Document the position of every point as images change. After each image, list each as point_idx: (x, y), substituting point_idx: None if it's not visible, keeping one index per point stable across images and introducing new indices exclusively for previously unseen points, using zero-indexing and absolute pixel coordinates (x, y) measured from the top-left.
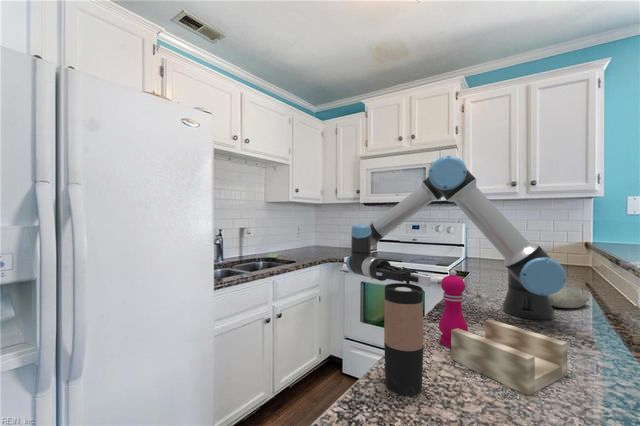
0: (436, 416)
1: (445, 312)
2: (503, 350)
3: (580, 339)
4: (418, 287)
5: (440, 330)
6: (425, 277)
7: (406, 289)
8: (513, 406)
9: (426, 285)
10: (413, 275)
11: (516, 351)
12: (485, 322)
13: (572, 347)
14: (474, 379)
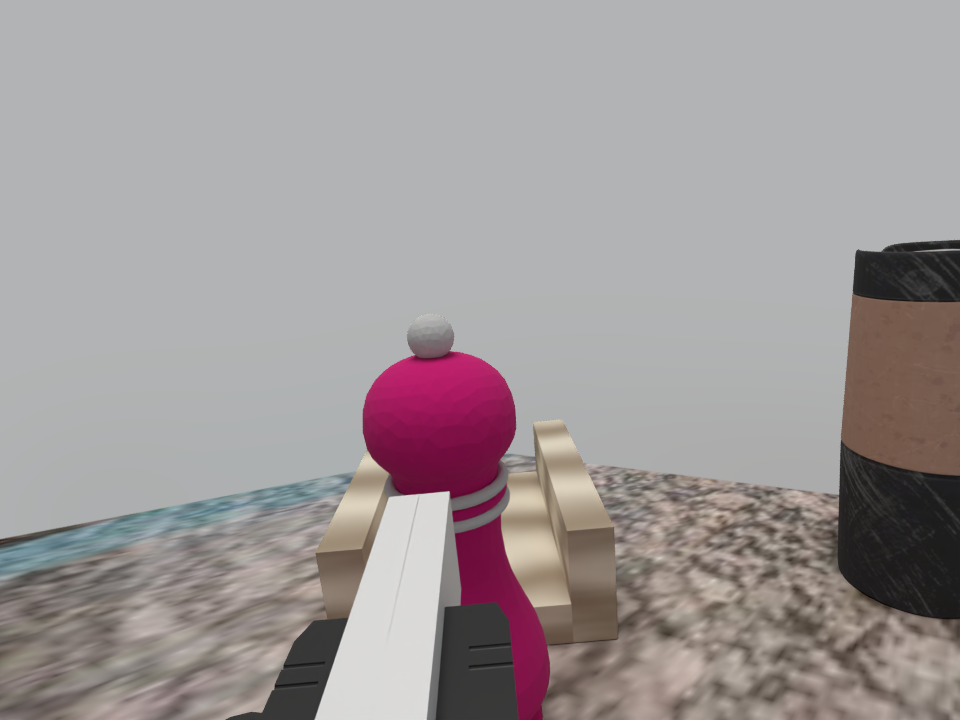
0: (833, 499)
1: (510, 583)
2: (571, 441)
3: (17, 592)
4: (865, 255)
5: (543, 698)
6: (447, 512)
7: (928, 250)
8: (631, 487)
9: (459, 587)
10: (433, 686)
11: (547, 434)
12: (362, 554)
13: (139, 571)
14: (636, 549)
